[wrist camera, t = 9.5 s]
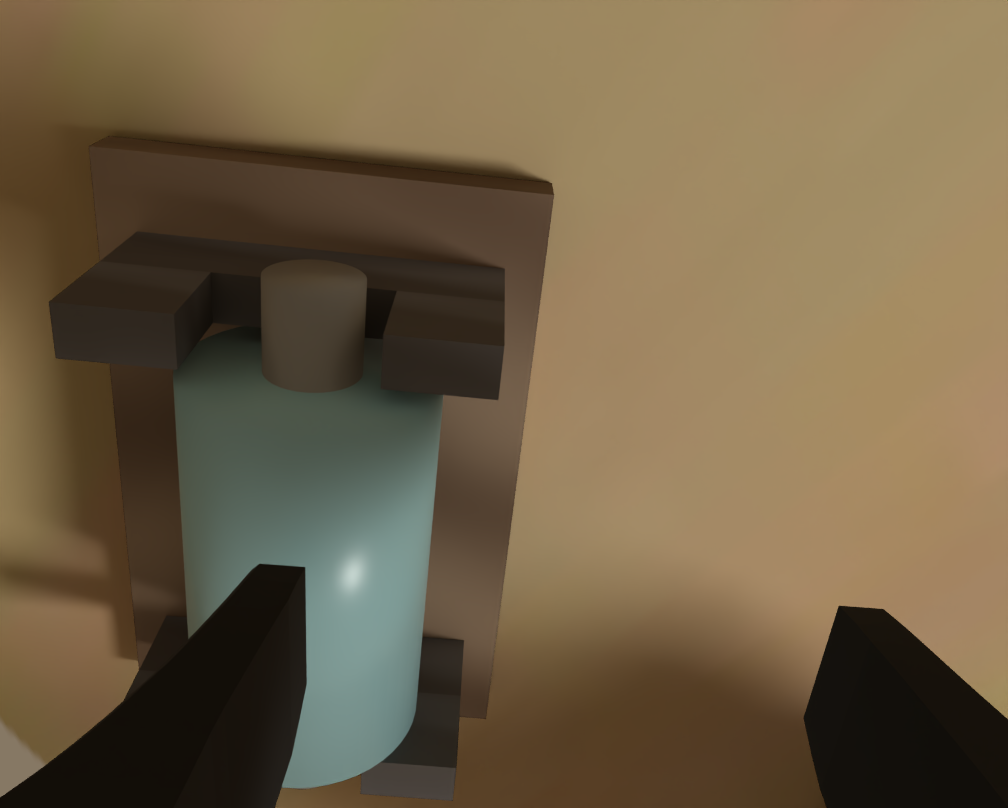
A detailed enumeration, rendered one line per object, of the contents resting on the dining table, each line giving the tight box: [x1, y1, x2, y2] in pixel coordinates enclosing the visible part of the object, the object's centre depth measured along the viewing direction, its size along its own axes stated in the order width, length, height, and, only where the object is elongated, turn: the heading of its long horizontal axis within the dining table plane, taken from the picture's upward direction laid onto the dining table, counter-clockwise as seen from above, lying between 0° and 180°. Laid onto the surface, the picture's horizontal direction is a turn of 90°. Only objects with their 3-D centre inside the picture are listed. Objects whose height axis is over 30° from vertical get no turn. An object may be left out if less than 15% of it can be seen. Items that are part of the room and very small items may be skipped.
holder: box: [49, 136, 554, 801], centre depth 20 cm, size 14×9×5 cm, turn 174°
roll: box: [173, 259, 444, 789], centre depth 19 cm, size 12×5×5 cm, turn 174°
